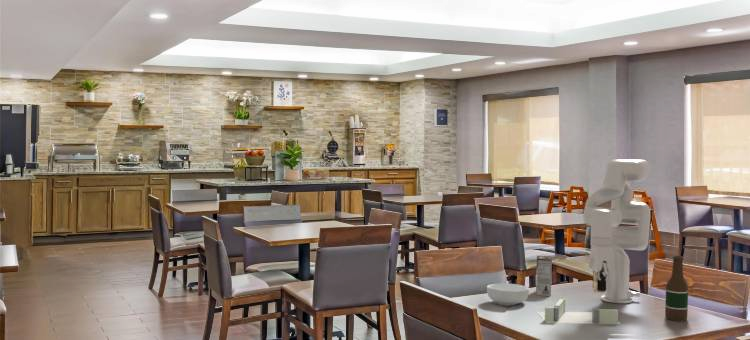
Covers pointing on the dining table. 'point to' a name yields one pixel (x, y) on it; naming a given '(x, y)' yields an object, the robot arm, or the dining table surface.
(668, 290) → the beer bottle
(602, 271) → the roller
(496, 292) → the cereal bowl
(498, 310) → the dining table surface
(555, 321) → the gate frame
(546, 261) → the coffee box
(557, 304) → the gate
